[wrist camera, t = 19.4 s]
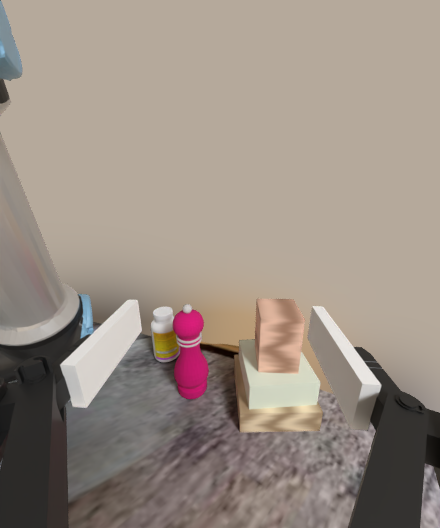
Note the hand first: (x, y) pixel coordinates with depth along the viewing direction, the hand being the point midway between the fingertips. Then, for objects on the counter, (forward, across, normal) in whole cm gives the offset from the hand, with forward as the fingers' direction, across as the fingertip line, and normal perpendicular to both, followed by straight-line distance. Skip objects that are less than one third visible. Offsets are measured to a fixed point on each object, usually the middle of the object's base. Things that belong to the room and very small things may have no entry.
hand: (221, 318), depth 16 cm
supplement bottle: (+30, -17, -31) cm, 47 cm away
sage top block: (+20, +9, -26) cm, 34 cm away
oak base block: (+20, +8, -31) cm, 38 cm away
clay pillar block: (+20, +9, -21) cm, 31 cm away
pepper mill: (+21, -8, -31) cm, 38 cm away
